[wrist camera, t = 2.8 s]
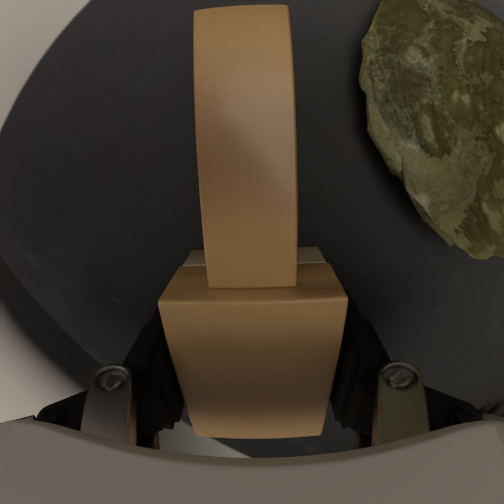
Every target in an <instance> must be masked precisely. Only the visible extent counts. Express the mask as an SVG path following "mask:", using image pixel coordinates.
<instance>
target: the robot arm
mask: <svg viewBox="0 0 504 504" xmlns="http://www.w3.org/2000/svg"><path fill="white" fill-rule="evenodd" d="M343 289H344V291H345V293H346V295H347V296H348V305H347V312H346V318H345V325H344V331H343V337H342V343H341V348H340V354H339V359H338V364H337V369H336V374H335V379H334V383H333V388H332V392H331V397H330V400H331V404H332V408H333V413H334V417H335V420H336V421H340V422H341V426H342V428H349V427H350V429H352V430H354V431H356V437H355V445H354V450H350V451H344V452H337V453H329V454H321V455H311V456H299V457H283V458H228V457H227V458H226V457H211V456H200V455H191V454H181V453H175V452H167V451H161V450H160V446H159V434H158V432H159V431H161V430H163V428H166V429H173V427H174V423H175V422H179V421H180V418H181V414H182V410H183V407H184V403H185V402H184V399H183V396H182V393H181V390H180V386H179V383H178V380H177V376H176V373H175V369H174V366H173V362H172V359H171V355H170V351H169V348H168V344H167V340H166V336H165V332H164V328H163V324H162V319H161V315H160V311H159V306H158V308H157V309H156V311H155V313H154V315H153V316H152V318H151V320H150V322H149V323H148V324H145V326H144V327H143V329H142V331H141V332H140V334H139V336H138V338H137V339H136V341H135V343H134V345H133V346H132V348H131V350H130V352H129V353H128V355H127V357H126V359H125V361H124V362H123V364H122V365H120V364H109V365H105V366H103V367H101V368H100V369H98V370H96V371H95V373H94V374H93V375H92V377H91V379H90V383H89V388H88V390H86V391H83V392H81V393H79V394H76V395H73V396H71V397H68V398H66V399H63V400H61V401H58V402H55V403H53V404H50V405H48V406H46V407H44V408H43V409H42V410H41V411H40V412H39V414H38V415H37V418H36V417H35V416H34V415H32V416H28V417H24V418H20V419H16V420H11V421H6V422H3V423H0V504H504V417H501V416H497V415H493V414H489V413H485V412H483V413H482V414H481V415H479V413H478V411H477V409H476V408H475V407H474V406H473V405H471V404H470V403H468V402H465V401H463V400H460V399H457V398H454V397H452V396H449V395H447V394H444V393H441V392H439V391H436V390H434V389H431V388H429V387H426V386H424V384H423V378H422V375H421V372H420V371H419V370H418V368H417V367H415V366H414V365H413V364H411V363H408V362H405V361H391V360H390V358H389V356H388V354H387V352H386V351H385V349H384V347H383V345H382V343H381V341H380V339H379V337H378V335H377V334H376V332H375V330H374V328H373V326H372V324H371V323H370V321H369V320H367V319H365V320H363V318H362V316H361V315H360V313H359V311H358V309H357V307H356V305H355V303H354V302H353V300H352V298H351V296H350V294H349V292H348V291H347V289H346V288H343Z"/></svg>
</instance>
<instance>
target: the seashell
mask: <svg viewBox="0 0 504 504" xmlns="http://www.w3.org/2000/svg"><path fill="white" fill-rule="evenodd" d="M361 50H362V57H363V60H362V64H361V68H360V72H359V77H358V78H359V84H360V87H361V90H362V91H363V92H365V93H366V114H367V122H368V125H367V131H368V133H369V135H370V137H371V138H372V140H373V142H374V144H375V145H376V147H377V148H378V150H379V152H380V154H381V155H382V157H383V159H384V161H385V164H386V166H387V167H388V169H389V170H390V172H391V174H392V175H395V176H398V177H399V178H400V179H401V180H402V182H403V185H404V187H405V190H406V191H407V192H408V193H409V195H410V199H411V201H412V203H413V206H414V207H415V208H416V210H417V212H418V213H419V215H420V216H421V218H422V220H423V222H424V223H426V224H427V225H428V226H429V227H431V228H432V229H433V230H434V231H435V232H436V233H437V234H439V235H440V236H441V237H442V238H443V239H444V240H445V241H446V242H447V244H448V245H449V246H450V247H451V246H456V247H457V248H458V249H462V250H464V251H466V252H467V253H468V254H469V255H470V256H471V257H473V258H474V259H483V260H484V259H487V258H489V257H492V256H500V257H502V258H504V22H503V21H502V20H501V19H500V18H499V17H497V16H496V15H495V14H494V13H492V12H491V11H490V10H488V9H487V8H485V7H484V6H482V5H481V4H479V3H478V2H476V1H475V0H383V1H382V2H381V3H380V6H379V8H378V10H377V12H376V14H375V17H374V19H373V22H372V24H371V27H370V29H369V31H368V32H367V34H366V35H365V37H364V38H363V40H362V45H361Z"/></svg>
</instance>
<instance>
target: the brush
mask: <svg viewBox="0 0 504 504" xmlns="http://www.w3.org/2000/svg"><path fill="white" fill-rule="evenodd" d="M193 61H194V106H195V130H196V150H197V167H198V181H199V195H200V208H201V219H202V230H203V241H204V250H192V251H191V253H190V254H189V256H188V258H187V259H186V261H185V262H184V264H183V266H180V267H179V268H178V270H177V271H176V273H175V274H174V276H173V277H172V279H171V281H170V282H169V284H168V285H167V287H166V289H165V290H164V292H163V294H162V295H161V297H160V298H159V300H158V306H159V311H160V315H161V319H162V324H163V328H164V332H165V336H166V340H167V344H168V348H169V351H170V355H171V359H172V362H173V366H174V369H175V373H176V376H177V380H178V383H179V386H180V390H181V393H182V396H183V399H184V402H185V405H186V408H187V411H188V414H189V417H190V420H191V423H192V426H193V429H194V431H195V434H196V435H197V436H204V437H218V438H247V439H261V438H290V437H304V436H316V435H320V434H321V432H322V428H323V425H324V421H325V417H326V413H327V409H328V405H329V401H330V397H331V392H332V388H333V383H334V379H335V374H336V369H337V364H338V359H339V354H340V348H341V343H342V337H343V331H344V325H345V318H346V312H347V305H348V296H347V295H346V293H345V291H344V289H343V287H342V285H341V283H340V282H339V280H338V278H337V276H336V274H335V272H334V271H333V269H332V267H331V265H330V263H326V261H325V259H324V257H323V256H322V254H321V252H320V250H319V248H318V247H298V164H297V126H296V102H295V82H294V66H293V52H292V39H291V27H290V16H289V7H288V6H287V5H241V6H227V7H217V8H208V9H201V10H196V11H194V29H193Z"/></svg>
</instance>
